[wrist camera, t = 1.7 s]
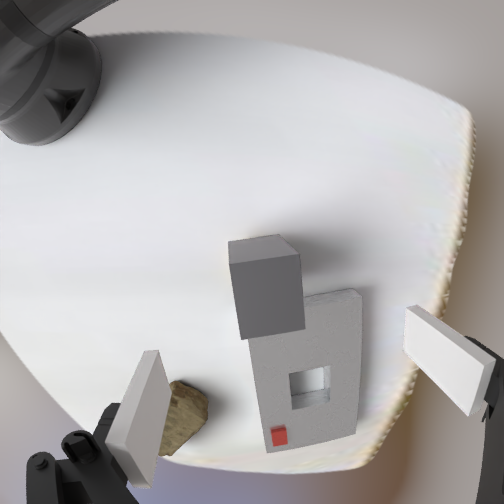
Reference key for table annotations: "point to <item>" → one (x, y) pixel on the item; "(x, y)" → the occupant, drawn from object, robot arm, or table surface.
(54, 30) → the robot arm
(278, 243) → the plug
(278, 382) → the socket plate
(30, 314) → the table surface
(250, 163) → the table surface
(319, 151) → the table surface
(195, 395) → the stone block
